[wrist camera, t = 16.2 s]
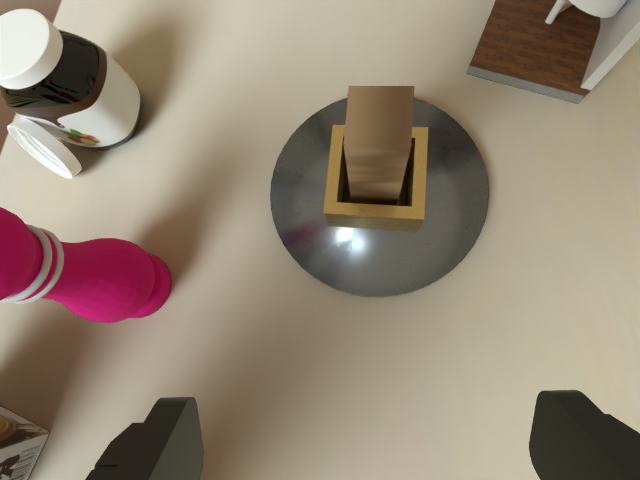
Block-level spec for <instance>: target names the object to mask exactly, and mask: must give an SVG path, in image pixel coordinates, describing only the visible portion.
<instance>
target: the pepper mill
mask: <svg viewBox="0 0 640 480" xmlns="http://www.w3.org/2000/svg"><path fill="white" fill-rule="evenodd" d="M170 287H171V277H170V273H169V270H168V267H167V266H166V264H165V263H164V262H163V261H162V260H161V259H160V258H158V257H156V256H154V255H151V254H148V253H146V252H145V251H144V250H143V249H142V248H140V247H139V246H138V245H136V244H134V243H132V242H129V241H125V240H120V239H115V238H100V239H94V240H90V241H85V242H80V243H66V242H60V241H59V240H58V238H57V237H56V236H55V235H54V234H53V233H51V232H49V231H47V230H45V229H41V228H36V227H34V226H32V225H26V224H25V223H24V222H23V221H22V220H21V219H20V218H19V217H18V216H17V215H15V214H13V213H11V212H9V211H7V210H6V209H3V208H1V207H0V303H16V304H25V303H30V302H33V301H35V300H37V299H40V298H45V299H51V300H55V301H58V302H60V303H62V304H63V305H64V306H66V307H67V308H68V309H69V310H71V311H72V312H73V313H75V314H77V315H78V316H80V317H83V318H85V319H87V320H91V321H96V322H104V323H111V322H117V321H121V320H124V319H126V318H141V317H145V316H148V315H151V314H152V313H154V312H155V311H157V310H158V309H159V308H160V307H161V306H162V305H163V304H164V302H165V300H166V299H167V297H168V295H169V291H170Z"/></svg>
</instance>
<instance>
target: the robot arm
mask: <svg viewBox="0 0 640 480" xmlns="http://www.w3.org/2000/svg"><path fill="white" fill-rule="evenodd" d="M529 451H530V457H531V461H532V464H533V466H534V469H535V471H536V473H537V475H538V476H539V478H540V479H541V480H640V434H639V433H638V432H637V431H635V430H633V429H632V428H630V427H629V426H627V425H626V424H624V423H622V422H621V421H619V420H618V419H616V418H614V417H613V416H611V415H610V414H604V413H603V412H602V411H601V410H600V409H599V408H598V407H597V406H596V405H595V404H594V403H593V402H592V401H591V400H590V399H589V398H588V397H587V396H585V395H584V394H583V393H582V392H580V391H577V390H556V391H541V392H540V393H539V394H538V397H537V401H536V407H535V412H534V418H533V424H532V430H531V435H530V441H529ZM202 466H203V444H202V437H201V430H200V423H199V416H198V409H197V403H196V400H195V398H193V397H177V398H160V399H158V401H157V402H156V403H155V405H154V406H153V408H152V410H151V411H150V413H149V415H148V416H147V418H146V419H145V421H144V423H132V424H131V425H130V426H129V427H128V428H126V429H125V430H124V431H123V432H122V433H121V434H119V435H118V436H117V437H116V438H115V439H114V440H113V441H111V442H110V444H109V445H108V447H107V448H106V450H105V451H104V453H103V454H102V456H101V457H100V459H99V460H98V462H97V463H96V465H95V469H94V470H91V472H90V473H89V475H88V476H87V478H86V479H85V480H200V476H201V471H202Z"/></svg>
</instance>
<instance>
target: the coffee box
mask: <svg viewBox="0 0 640 480" xmlns="http://www.w3.org/2000/svg"><path fill="white" fill-rule="evenodd" d="M48 435H49V432H48V431H47V430H45V429H44V428H42V427H40V426H38V425H36V424H34V423H32V422H30V421H28V420H26V419H24V418H22V417H20V416H19V415H17V414H15V413H13V412H11V411H9V410H7V409H5V408H3V407H1V406H0V480H28V477H29V475H30V473H31V471H32V469H33V467H34V465H35V463H36V461H37V459H38V456H39V454H40V452H41V450H42V448H43V446H44V444H45V442H46V439H47V437H48Z"/></svg>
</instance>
